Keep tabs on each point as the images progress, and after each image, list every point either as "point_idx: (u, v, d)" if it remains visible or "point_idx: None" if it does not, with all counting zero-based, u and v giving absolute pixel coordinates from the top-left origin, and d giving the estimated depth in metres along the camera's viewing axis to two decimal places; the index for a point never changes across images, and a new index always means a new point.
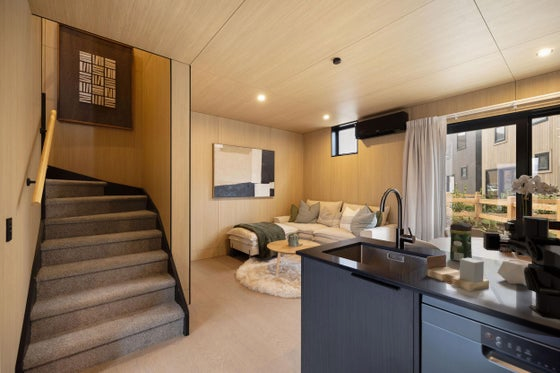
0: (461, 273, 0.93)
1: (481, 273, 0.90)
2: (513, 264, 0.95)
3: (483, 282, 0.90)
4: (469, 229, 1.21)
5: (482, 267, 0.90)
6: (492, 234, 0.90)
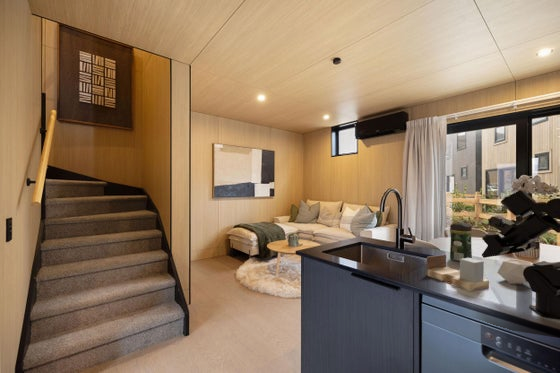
0: (461, 273, 0.93)
1: (481, 273, 0.90)
2: (513, 264, 0.95)
3: (483, 282, 0.90)
4: (469, 229, 1.21)
5: (482, 267, 0.90)
6: (491, 234, 0.80)
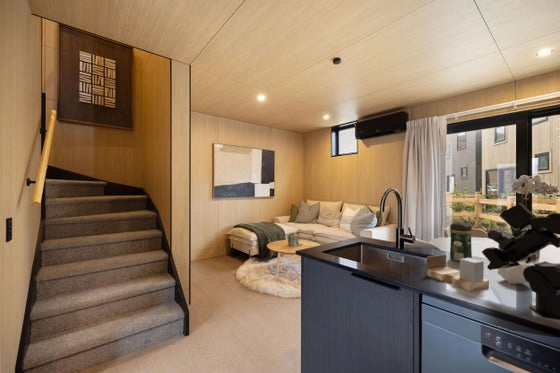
0: (461, 273, 0.93)
1: (481, 273, 0.90)
2: None
3: (483, 282, 0.90)
4: (469, 229, 1.21)
5: (482, 267, 0.90)
6: (490, 248, 0.80)
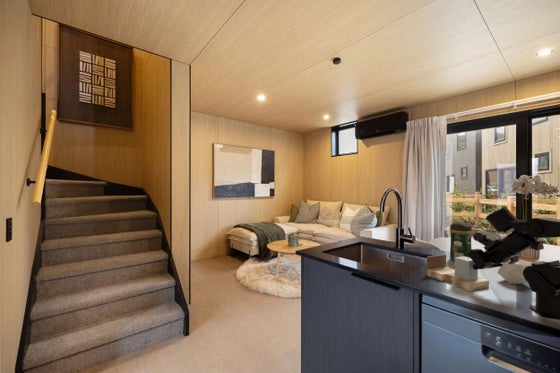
0: (456, 271, 0.95)
1: (475, 271, 0.92)
2: (513, 264, 0.95)
3: (483, 282, 0.90)
4: (469, 229, 1.21)
5: None
6: (475, 249, 0.84)
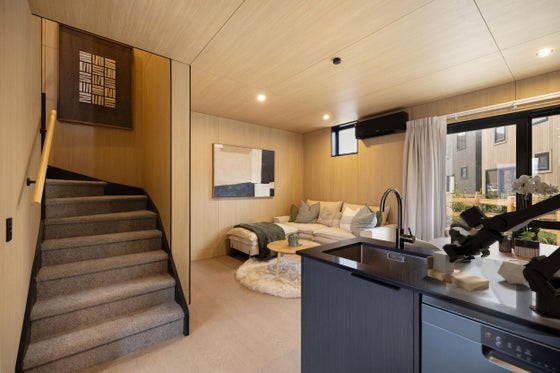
0: (434, 264, 1.03)
1: (451, 264, 1.00)
2: (513, 264, 0.95)
3: (483, 282, 0.90)
4: (469, 229, 1.21)
5: None
6: (449, 244, 0.92)
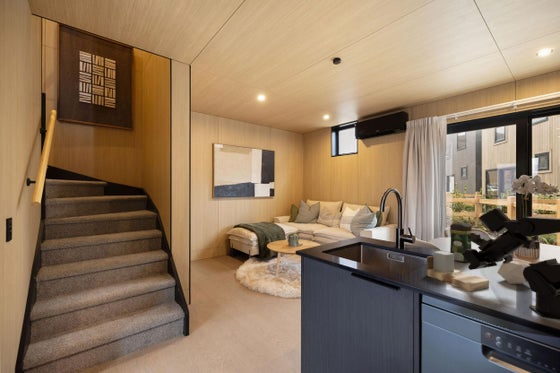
0: (434, 264, 1.03)
1: (451, 264, 1.00)
2: (513, 264, 0.95)
3: (483, 282, 0.90)
4: (469, 229, 1.21)
5: (453, 259, 1.00)
6: (469, 249, 0.86)
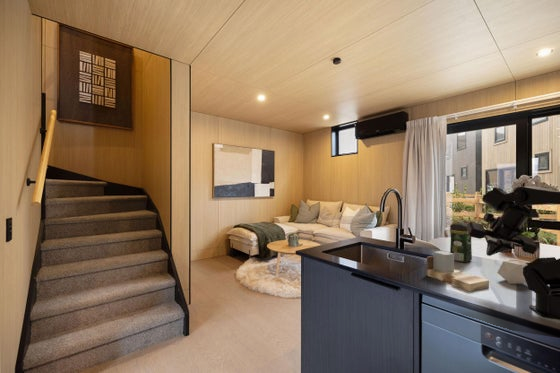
0: (434, 264, 1.03)
1: (451, 264, 1.00)
2: (513, 264, 0.95)
3: (483, 282, 0.90)
4: None
5: (453, 259, 1.00)
6: None
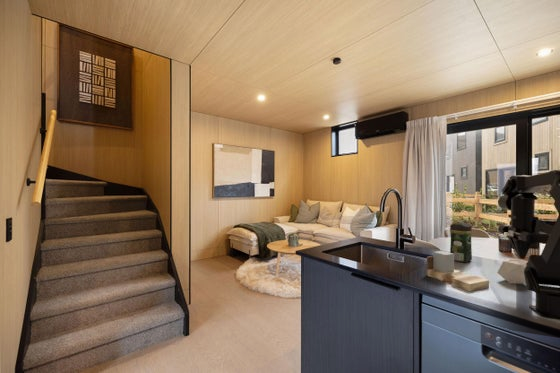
0: (434, 264, 1.03)
1: (451, 264, 1.00)
2: (513, 264, 0.95)
3: (483, 282, 0.90)
4: (469, 229, 1.21)
5: (453, 259, 1.00)
6: None
